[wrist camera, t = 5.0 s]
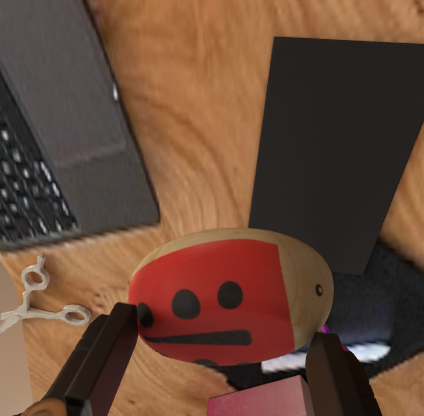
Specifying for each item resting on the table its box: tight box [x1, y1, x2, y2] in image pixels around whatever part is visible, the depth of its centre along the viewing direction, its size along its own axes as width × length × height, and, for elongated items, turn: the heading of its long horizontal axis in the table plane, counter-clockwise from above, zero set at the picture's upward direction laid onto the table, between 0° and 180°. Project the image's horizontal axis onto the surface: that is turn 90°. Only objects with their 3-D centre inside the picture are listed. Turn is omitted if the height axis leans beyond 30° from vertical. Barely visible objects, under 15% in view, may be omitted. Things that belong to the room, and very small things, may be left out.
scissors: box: [0, 253, 91, 333], centre depth 36 cm, size 11×1×20 cm
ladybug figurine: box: [123, 228, 334, 366], centre depth 12 cm, size 7×10×4 cm
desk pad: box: [248, 37, 424, 275], centre depth 23 cm, size 20×12×1 cm, turn 177°
